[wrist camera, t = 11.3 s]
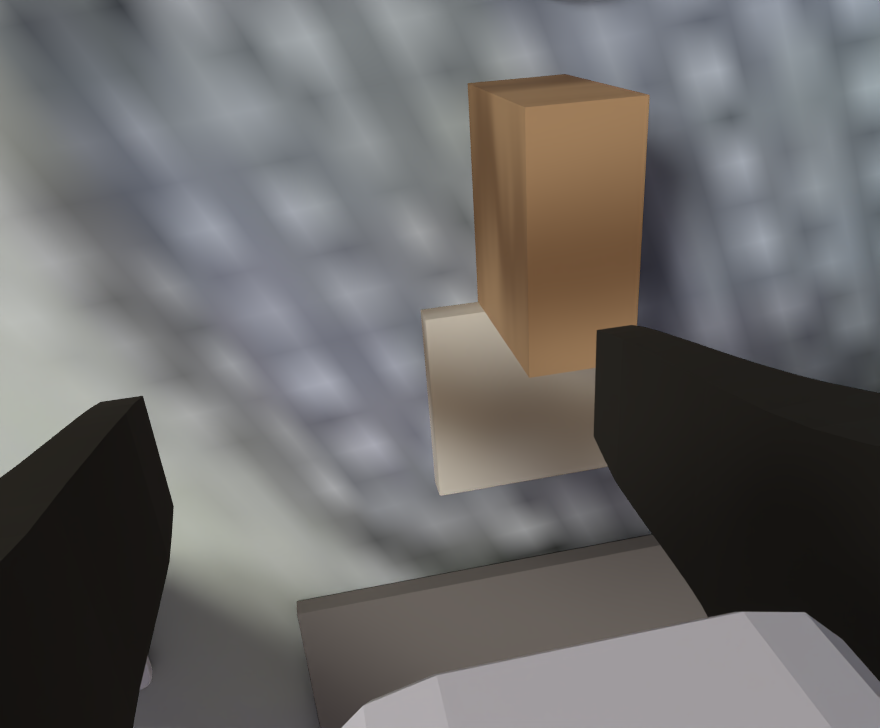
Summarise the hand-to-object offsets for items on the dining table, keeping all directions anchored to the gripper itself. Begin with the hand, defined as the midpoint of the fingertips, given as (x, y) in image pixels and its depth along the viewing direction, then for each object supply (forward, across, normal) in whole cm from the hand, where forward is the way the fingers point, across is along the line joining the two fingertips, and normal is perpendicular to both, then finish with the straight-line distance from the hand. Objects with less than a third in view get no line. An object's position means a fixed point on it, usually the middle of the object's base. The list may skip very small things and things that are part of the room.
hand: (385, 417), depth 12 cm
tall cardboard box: (+9, -5, +2) cm, 11 cm away
